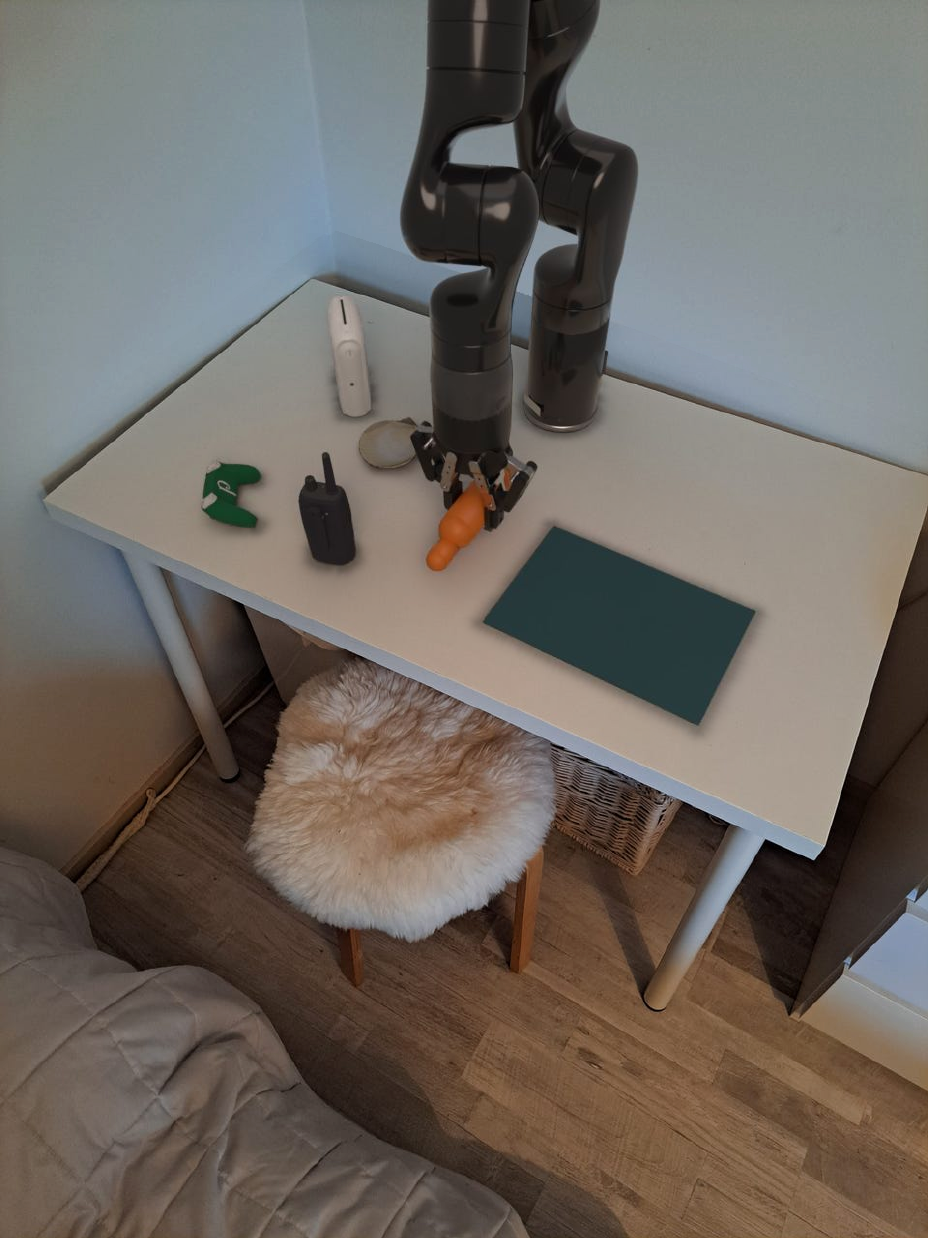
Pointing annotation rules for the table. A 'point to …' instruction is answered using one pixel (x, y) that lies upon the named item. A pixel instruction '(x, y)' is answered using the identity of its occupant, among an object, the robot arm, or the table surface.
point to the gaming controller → (228, 493)
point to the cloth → (623, 622)
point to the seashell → (388, 443)
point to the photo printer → (349, 356)
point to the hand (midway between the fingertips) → (473, 517)
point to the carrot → (459, 526)
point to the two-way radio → (327, 518)
